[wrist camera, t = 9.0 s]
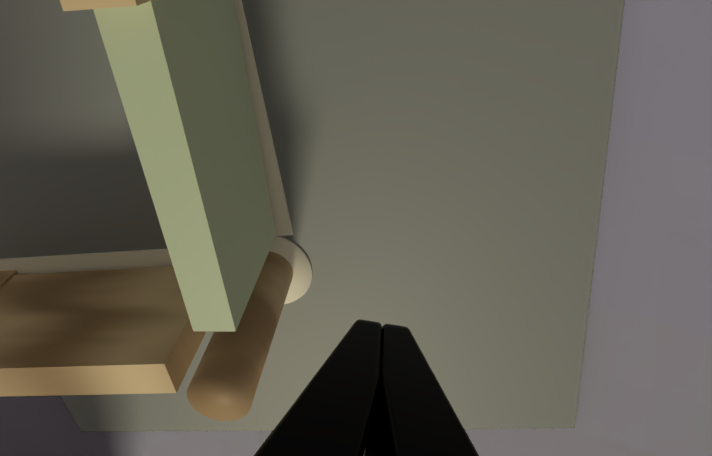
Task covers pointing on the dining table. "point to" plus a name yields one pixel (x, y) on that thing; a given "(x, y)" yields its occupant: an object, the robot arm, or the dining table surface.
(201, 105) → the fence panel
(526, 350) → the card
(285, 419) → the robot arm
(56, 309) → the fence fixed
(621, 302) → the dining table surface
